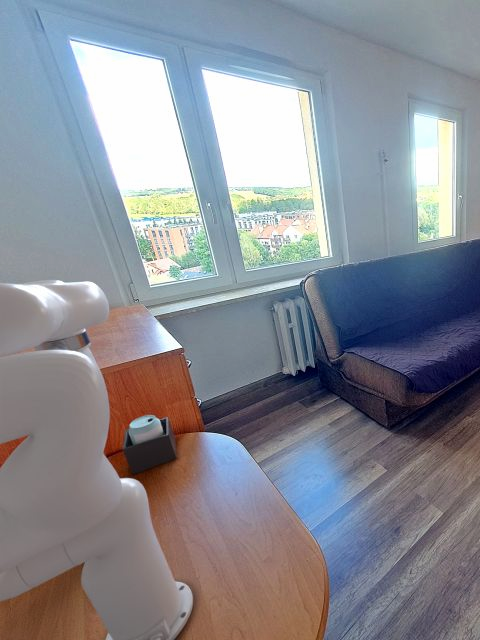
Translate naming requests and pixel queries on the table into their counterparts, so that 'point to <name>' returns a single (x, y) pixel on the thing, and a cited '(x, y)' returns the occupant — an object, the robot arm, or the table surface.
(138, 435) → the can
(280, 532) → the table surface
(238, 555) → the table surface
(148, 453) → the bin
